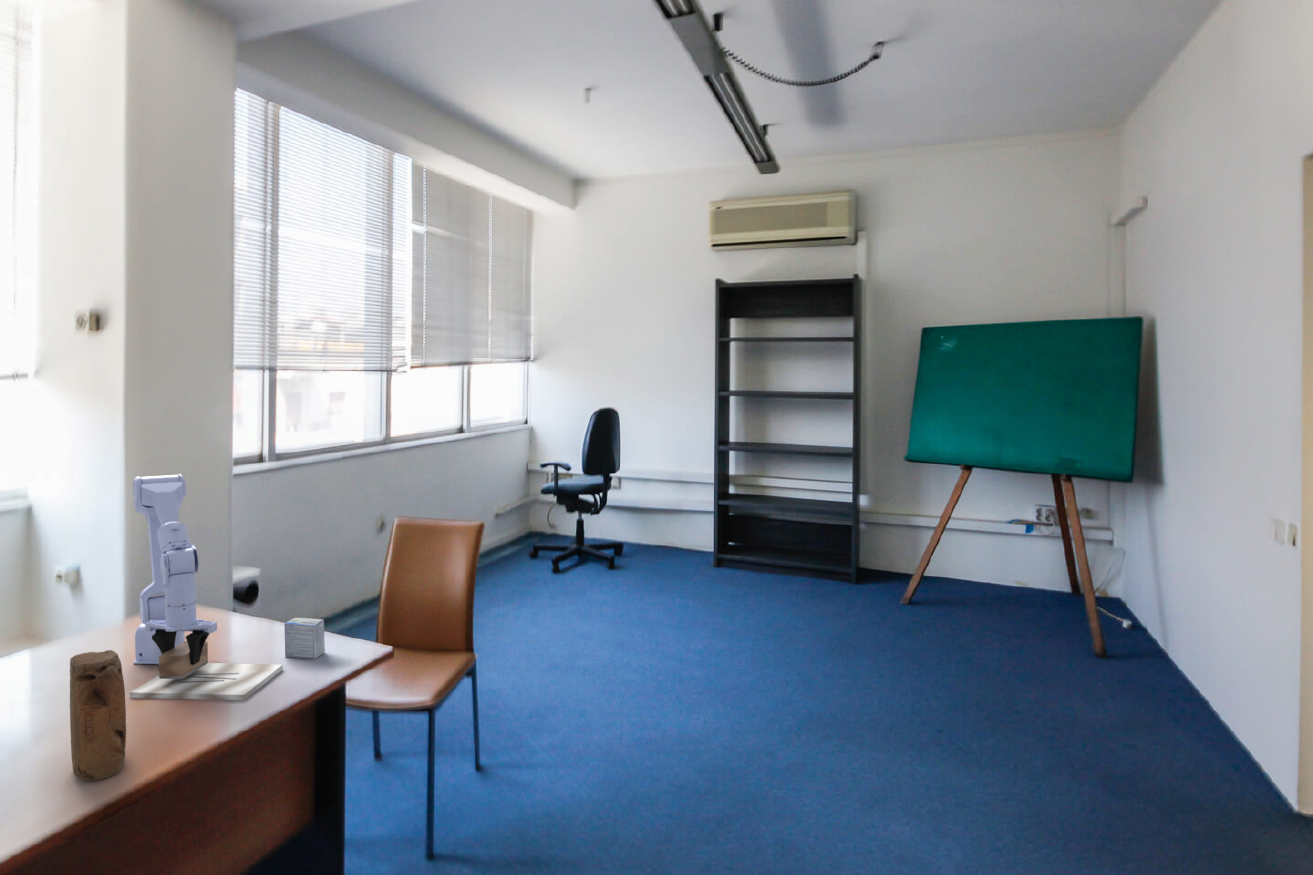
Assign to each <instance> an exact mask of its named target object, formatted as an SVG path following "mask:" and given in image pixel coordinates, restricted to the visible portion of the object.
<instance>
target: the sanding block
mask: <svg viewBox="0 0 1313 875" xmlns="http://www.w3.org/2000/svg"><path fill="white" fill-rule="evenodd" d="M208 644H209V643H208V641H205V644H204V646H203V649H202V652H201V656H200V661H199V662H198V663H196V664H195V665H191V663H190V650H189V646H188V642H187V640H185V642H183V643H182V644H180V645H178V646H176V647H174V648H172V649H171V650H169V651H167V652H165V653H163V654H162V655H160V656H159V664H158V675H159V679H183V678H185V677H187V676H188V675H190V674H191V673H193V672H195V671H196V670H198V669H199V668H201V667H203V666H204V665H206V664H207V663H209V652H208V646H209V645H208Z"/></svg>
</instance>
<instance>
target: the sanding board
mask: <svg viewBox="0 0 1313 875" xmlns="http://www.w3.org/2000/svg"><path fill="white" fill-rule="evenodd" d="M283 665H284V664H269V663H267V664H266V663H265V664H263V663H259V664H258V663H228V662H227V663H225V662H223V663H222V662H221V663H219V662H208V663H207V664H206V665H204V666H203V667H201V668H199V669H198V670H196V671H195V672H193V673H191V674H190V675H188V676H187V677H185V678H183V679H159V674H158V675H156V676H154V677H152V678H151V679H149V680H147V681H146V682H144V683H142V684H141V685H139V686H137V687H136V688H135V689H133V690H131V691H129V698H131V699H161V700H162V699H166V700H167V699H169V700H170V699H171V700H210V701H211V700H212V701H213V700H215V701H246V700H247V699H248V698H249V697H251V695H253V694H255V692H257V691H258V690H259V689H260V688H262V687H263V686H264V685H265V684H267V683H268V682H269V681H270V680H272V679H273V678H274V677H275V676H277V675H279V673H281V671H283V668H284V667H283ZM276 674H277V675H276Z"/></svg>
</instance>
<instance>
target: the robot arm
mask: <svg viewBox="0 0 1313 875" xmlns="http://www.w3.org/2000/svg"><path fill="white" fill-rule="evenodd" d="M132 482H133V483H132V492H133V502H134V503H133V505H134V508H135V512H136V513H138V514H139V513H140V514H143V515H144V516H145V520H146V523H147V530H148V531H147V532H148V541H149V542H148V543H149V552H150V553H149V554H150V556H149V557H150V565H151V566H150V567H151V577H152V578H151V579H152V582H151V583H150V584H149V585H148V586H146V587H145V588H144V589H143V590H142V591H141V592H140V594H139V604H138V606H139V607H138V608H139V609H138V610H139V619H140V622H141V624H140V625H138V627H137V628H136V630H135V635H134V646H135V647H134V648H135V649H134V650H135V654H134V655H135V656H134V657H135V659H134V660H133V662H132V663H133V664H136V665H137V664H139V665H141V664H142V665H159V656H160V655H162V654H163V653H165V652H167V651H169V650H171V649H172V648H174V647H176V646H178V645H180V644H182V643H183V642H185V641H187V642H188V646H189V650H190V663H191V665H195V664H196V663H198V662H199V661H200V656H201V652H202V649H203V646H204V644H205V642H207V639H208V638H209V635H210V634H212V633H214V632H216V631H217V630H218V621H213V620H211V621H210V620H207V619H200V618H197V585H196V583H197V582H196V579H197V578H196V576H197V575H196V574H198V571H199V568H200V566H199V565H200V561H199V554H198V550H197V548H196V546H195V545H194V543H192V542H191V537H190V534H189V530H188V526H186V524H184V523H182V522H180V514H179V509H181V507H182V504H183V502H184V500H185V496H186V492H187V490H186V488H187V487H186V486H187V485H186V479H185V477H184V476H183V475H182V474H181V473H177V474H172V475H171V474H168V475H166V474H165V475H151V476H136V477H135V478H134V479H133V481H132ZM162 594H163V595H162ZM154 595H155V596H154ZM185 632H191V633H189V634H187V635H186V633H185ZM185 635H186V636H185Z"/></svg>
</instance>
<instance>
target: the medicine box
mask: <svg viewBox="0 0 1313 875" xmlns="http://www.w3.org/2000/svg"><path fill="white" fill-rule="evenodd" d="M325 643H326V642H325V620H324V619H323V618H322V619H321V618H308V617H294V618H292V619H290V620H288V621H287V622H285V623H284V657H285V658H295V659H296V658H299V659H310V660H311V659H313V660H316V659H317V658H318V657H320V656H321V655H322V654H324V653H325V652H326V650H325V649H326V648H325V646H326V645H325Z"/></svg>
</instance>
